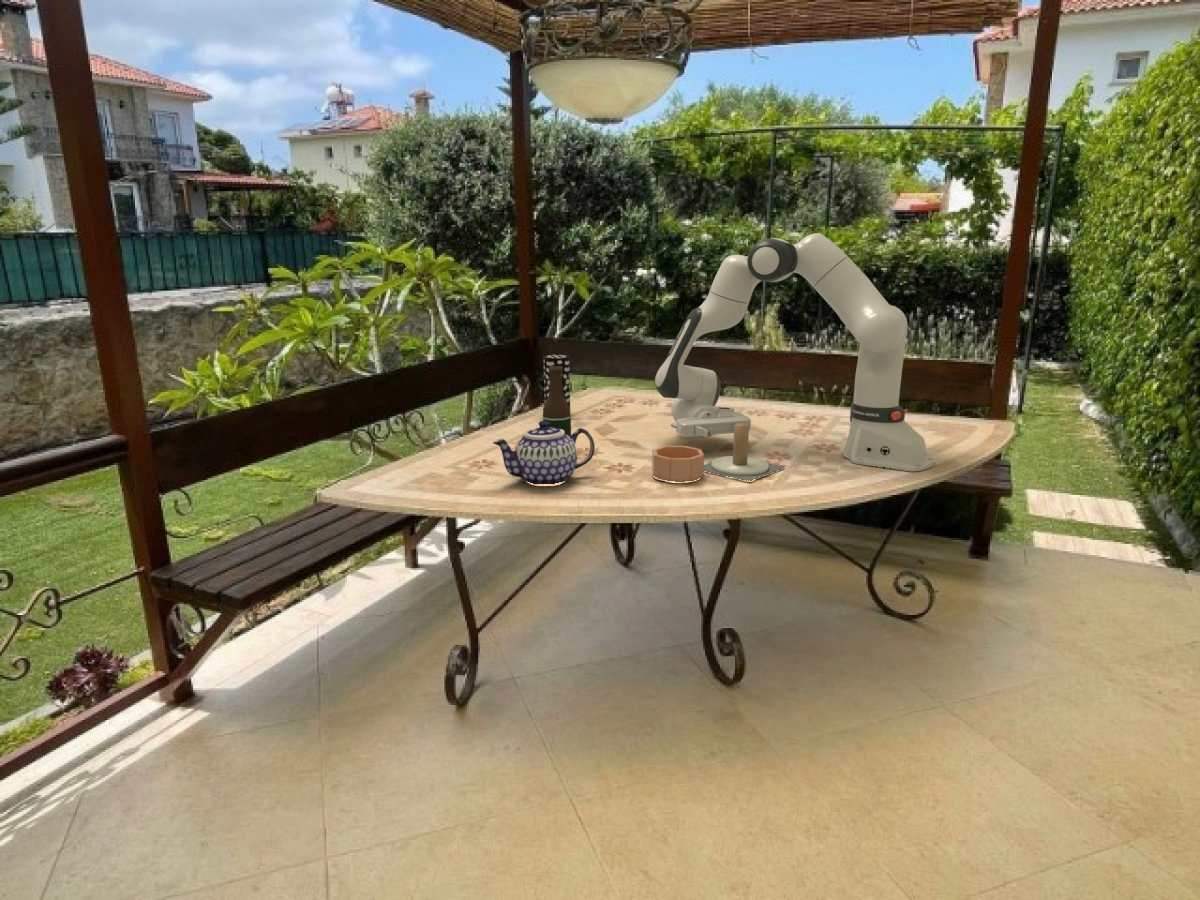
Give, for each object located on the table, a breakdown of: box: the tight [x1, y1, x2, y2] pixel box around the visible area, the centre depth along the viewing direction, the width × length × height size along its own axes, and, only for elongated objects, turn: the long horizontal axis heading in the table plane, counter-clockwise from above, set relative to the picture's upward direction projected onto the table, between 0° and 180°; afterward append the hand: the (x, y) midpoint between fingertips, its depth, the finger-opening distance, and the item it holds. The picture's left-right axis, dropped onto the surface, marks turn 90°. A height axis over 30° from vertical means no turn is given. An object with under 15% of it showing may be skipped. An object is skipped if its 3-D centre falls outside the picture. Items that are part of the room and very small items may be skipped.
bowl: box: [651, 445, 705, 482], centre depth 180 cm, size 12×12×6 cm
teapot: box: [492, 419, 595, 484], centre depth 176 cm, size 25×15×15 cm, turn 109°
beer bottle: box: [542, 366, 572, 436], centre depth 196 cm, size 8×8×24 cm
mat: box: [704, 454, 786, 481], centre depth 186 cm, size 16×16×1 cm
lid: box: [711, 423, 769, 476], centre depth 185 cm, size 14×14×11 cm
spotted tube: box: [542, 354, 571, 409], centre depth 242 cm, size 8×8×20 cm
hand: (725, 432), depth 192 cm, fingers open, 8 cm apart
